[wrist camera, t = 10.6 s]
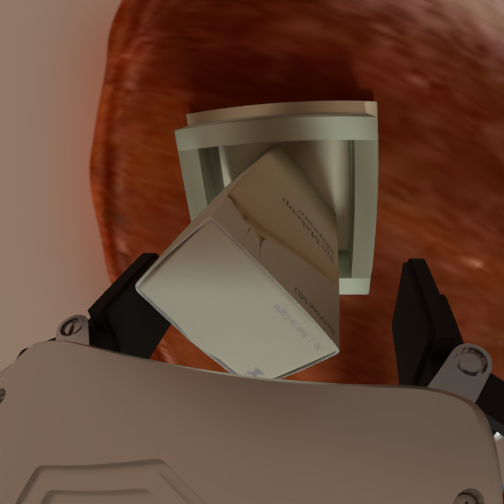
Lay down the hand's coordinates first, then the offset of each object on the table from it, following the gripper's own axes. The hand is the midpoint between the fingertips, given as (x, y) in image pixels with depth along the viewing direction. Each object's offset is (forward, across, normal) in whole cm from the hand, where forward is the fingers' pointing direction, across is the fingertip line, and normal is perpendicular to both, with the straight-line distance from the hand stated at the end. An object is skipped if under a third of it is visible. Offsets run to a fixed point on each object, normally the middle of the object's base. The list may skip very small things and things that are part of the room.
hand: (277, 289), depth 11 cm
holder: (+11, +1, 0) cm, 11 cm away
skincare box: (+10, +1, 0) cm, 10 cm away
